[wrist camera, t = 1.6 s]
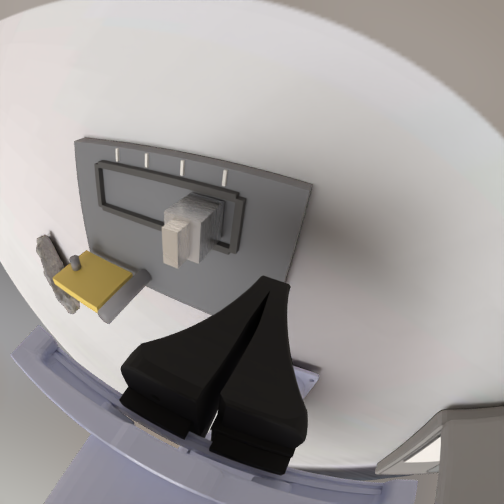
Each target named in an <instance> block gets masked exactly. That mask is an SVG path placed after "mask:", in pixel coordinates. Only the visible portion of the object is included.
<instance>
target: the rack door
mask: <svg viewBox="0 0 504 504" xmlns="http://www.w3.org/2000/svg"><path fill="white" fill-rule="evenodd" d="M69 260H70V264H68V265H67V266H66V267H65V268H63V269H62V270H61V271H60V272H59V273H57V274H56V275H55V276H54V277H53V281H54V283H55V284H56V285H57V286H58V287H60V288H61V289H62V290H64V291H65V292H67V293H68V294H69V295H71V296H72V297H74V298H75V299H77V300H78V301H80V302H81V303H83V304H84V305H86V306H87V307H89V308H90V309H92V310H93V311H95V312H96V313H98V310H99V309H100V308H101V307H102V306H103V305H104V304H105V303H106V302H107V301H108V300H109V299H110V298H111V297H112V296H113V295H114V294H115V293H116V292H117V291H118V290H119V289H120V288H121V287H122V286H123V285H124V284H125V283H126V282H127V281H129V280H130V279H131V278H132V277H133V274H132V273H131V272H129V271H127V270H125V269H123V268H121V267H119V266H117V265H115V264H113V263H111V262H109V261H107V260H105V259H103V258H101V257H99V256H97V255H95V254H93V253H91V252H89V251H87V250H86V251H85V252H84V253H82V254H81V255H80V256H77V255H74V256H72V257H70V259H69Z"/></svg>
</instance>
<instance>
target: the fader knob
mask: <svg viewBox="0 0 504 504" xmlns="http://www.w3.org/2000/svg"><path fill="white" fill-rule="evenodd" d="M223 211H224V201H220V200H217V199H213V198H210V197H206V196H202V195H199V194H195V193H189V194H188V195H187V196H185V197H184V198H182V199H181V200H179V201H178V202H176V203H175V204H173V205H172V206H171V207H169V208H168V209H166V210H165V211H164V226H163V227H162V245H163V263H165V264H167V265H170V266H172V267H175V268H177V269H178V268H179V267H180V266H181V265H182V264H183V263H184V262H185V261H186V260H190V261H192V262H195V263H198V264H199V263H200V262H201V261H202V260H203V259H204V258H205V256H206V255H207V254H208V253H209V252H210V251H211V250H212V248H213V247H214V246H215V245H216V244H217V243H218V242H219V241H220V239H221V230H222V221H223Z"/></svg>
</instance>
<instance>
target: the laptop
mask: <svg viewBox="0 0 504 504" xmlns="http://www.w3.org/2000/svg"><path fill="white" fill-rule="evenodd" d="M430 473H439V474H438V483H437V490H436V497H435V503H434V504H504V406H498V407H488V408H474V409H446V410H441V411H440V412H438V413H437V414H436V415H435V416H434V417H433V418H432V419H431V420H430V421H429V422H428V423H427V424H426V425H425V426H424V427H422V428H421V429H420V430H419V431H418V432H417V433H416V434H415V435H413V436H412V437H411V438H410V439H409V440H408V441H406V442H405V443H404V444H403V445H401V446H400V447H399V448H398V449H396V450H395V451H394V452H393V453H391V454H390V455H389V456H387V457H386V458H385V459H383V460H382V461H381V462H379V463H378V464H377V467H376V470H375V474H385V475H410V474H430Z"/></svg>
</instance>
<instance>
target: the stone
mask: <svg viewBox="0 0 504 504" xmlns="http://www.w3.org/2000/svg"><path fill="white" fill-rule="evenodd" d="M36 252H37V254H38V255H39V257H40V258H41V262H42V265H43V268H44V275H45V277H46V278H47V281H48V282H49V284H50V286H51V287H52V289H53V291H54V293H55V296H56V298H57V300H58V301H59V302H60V303H61V304H62V305H63V306H64V307H65V308H66V310H67V311H68V313H70V314H74V313H76V310H78V309H80V303H79V302H80V301H78V300H77V299H75V298H74V297H72V296H71V295H69V294H68V293H67V292H65V291H64V290H62V289H61V288H60V287H58V286H57V285H56V284H55V283H54V281H53V277H54V276H55V275H56V274H57V273H59V272H60V271H61V270H62V269H63V268H64V266H63V262H62V261H61V260H60V257H59V255H58V254H57V252H56V250H55V247H54V246H53V244H52V242H51V240H50V239H49V237H48V236H47V235H44V236H43V237H42V238H41V237H39V238H37V247H36Z"/></svg>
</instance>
